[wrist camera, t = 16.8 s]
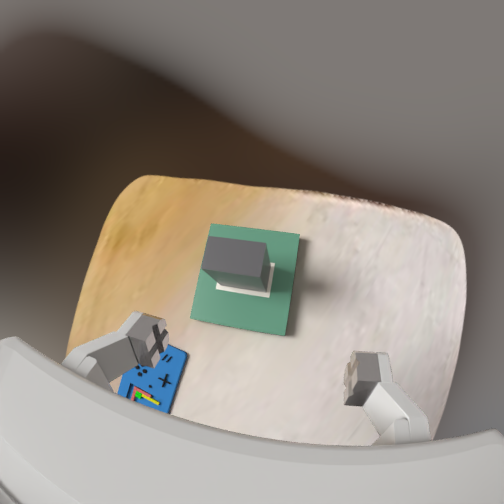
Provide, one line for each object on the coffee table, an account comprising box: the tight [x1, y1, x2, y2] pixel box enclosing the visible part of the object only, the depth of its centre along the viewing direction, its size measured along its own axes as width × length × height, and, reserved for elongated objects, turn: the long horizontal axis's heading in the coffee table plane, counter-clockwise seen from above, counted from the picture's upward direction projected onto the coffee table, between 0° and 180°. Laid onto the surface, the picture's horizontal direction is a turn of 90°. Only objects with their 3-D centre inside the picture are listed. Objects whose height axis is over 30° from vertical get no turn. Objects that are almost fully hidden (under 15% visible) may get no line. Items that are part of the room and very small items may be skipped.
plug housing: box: [201, 236, 271, 293], centre depth 30 cm, size 3×6×8 cm, turn 80°
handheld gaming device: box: [118, 345, 187, 414], centre depth 33 cm, size 8×1×15 cm
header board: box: [190, 224, 300, 336], centre depth 34 cm, size 13×12×4 cm
